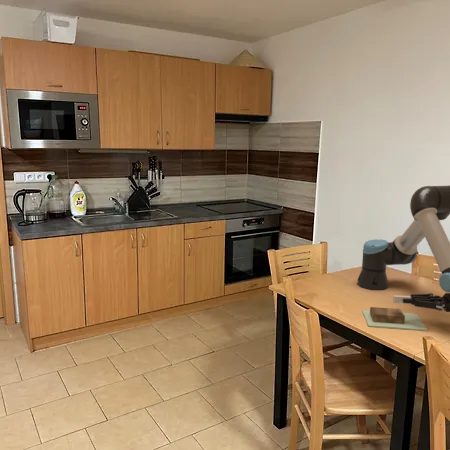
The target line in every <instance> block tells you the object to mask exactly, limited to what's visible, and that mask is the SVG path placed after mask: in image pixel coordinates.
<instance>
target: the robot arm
mask: <svg viewBox="0 0 450 450" xmlns="http://www.w3.org/2000/svg"><path fill="white" fill-rule="evenodd" d="M409 208H410V213H411V216H412V218H413V219H414V220H413V221H412V222H411V224H410V225H409V226H408V227H407V228H406V230H405V231H404V233H402V235H398V236H396V237H395V238H394V239H393V241H391V242H388V240H386V239H385V240H384V239H381V238H379V239H370V240H367V241H365V242H364V244H363V249H362V260H361V271H360V273H359V276H358V277H357V282H356V283H357V285H358V286H359V287H361V288H364V289H367V290H373V291H375V290H376V291H382V290H386V289H388V288H389V279H388V276H387V272H386V271H387V266H394V265H395V266H396V265H397V266H398V265H400V266H401V265H410V264H412V263H414V262H415V261H416V259H417V256H418V245H420V243H421V242H422V241H423V240H424V239H425V240H426V242H427V245H428V246H429V248H430V250H431V254H432V255H433V257H434V259H435V261H436V264H437V265H438V268H439V270H440V273H441V275H440V276H439V279H438V282H439V287H440V288H441V290H442V291H443V292H445V293H444V294H443V296H441V295H434V293H431V292H430V293H415V294H413V293H412V294H411V293H410V295H398V294H397V295H394V294H393V299H392V300H393V301H392V302H393V304H403V305H406V304H408V305H412V306H414V307H416V308H424V309H431V310H438V311H443V310H444V312H447V313H450V240H449V238H448V235H447V233H446V231H445V230H444V228H443V225H442V224H441V221H444V220H446V219H447V218H448V217H449V216H450V185H426V186H422V187H420V188H418V189H417V190H415V192H414V193H413V194H412V195H411V198H410V202H409Z"/></svg>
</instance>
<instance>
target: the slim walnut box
mask: <svg viewBox="0 0 450 450" xmlns="http://www.w3.org/2000/svg"><path fill="white" fill-rule="evenodd" d="M369 311H370V315H371V318H372V320H373V321H376V322H390V323H404V322H405V316H404V314H403V313H404V312H403V311H402V310H401V308H391V307H390V308H389V307H376V306H375V307H374V306H370V307H369Z"/></svg>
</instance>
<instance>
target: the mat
mask: <svg viewBox="0 0 450 450" xmlns="http://www.w3.org/2000/svg"><path fill="white" fill-rule="evenodd" d="M361 312H362V314H363V317H364V320H365V321H366V324H367V327H369V328H380V329H381V328H382V329H395V330H406V331H407V330H408V331H409V330H410V331H422V332H427V331H428V328H427V327H426V325H425V324H424V323H423V322H422V320H421V319H420V316H418V315H417V313H414V312H413V313H412V312H411V313H409V312H402V313H403V314H404V316H405V322H404V323H390V322H376V321H373V320H372V318H371V315H370V310H366V309H362V310H361Z"/></svg>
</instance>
